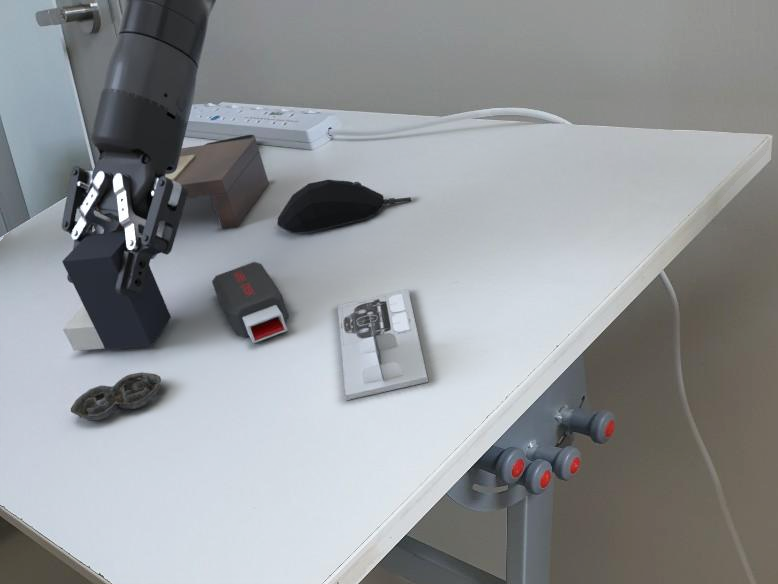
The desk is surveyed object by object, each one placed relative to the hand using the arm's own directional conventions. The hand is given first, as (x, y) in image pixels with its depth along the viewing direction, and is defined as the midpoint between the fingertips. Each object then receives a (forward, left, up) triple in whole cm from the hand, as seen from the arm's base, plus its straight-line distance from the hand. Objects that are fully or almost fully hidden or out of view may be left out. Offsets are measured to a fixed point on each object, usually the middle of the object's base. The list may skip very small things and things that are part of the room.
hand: (102, 290), depth 79 cm
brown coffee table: (-6, +30, -6) cm, 32 cm away
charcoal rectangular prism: (-1, +1, -5) cm, 6 cm away
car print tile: (+26, -3, -6) cm, 27 cm away
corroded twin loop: (+4, -10, -6) cm, 12 cm away
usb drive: (+12, +4, -6) cm, 14 cm away
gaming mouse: (+16, +24, -6) cm, 30 cm away
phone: (-6, +43, -6) cm, 44 cm away
